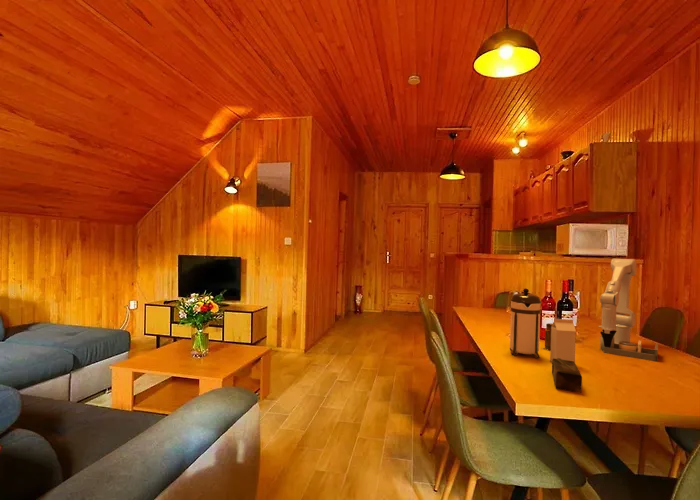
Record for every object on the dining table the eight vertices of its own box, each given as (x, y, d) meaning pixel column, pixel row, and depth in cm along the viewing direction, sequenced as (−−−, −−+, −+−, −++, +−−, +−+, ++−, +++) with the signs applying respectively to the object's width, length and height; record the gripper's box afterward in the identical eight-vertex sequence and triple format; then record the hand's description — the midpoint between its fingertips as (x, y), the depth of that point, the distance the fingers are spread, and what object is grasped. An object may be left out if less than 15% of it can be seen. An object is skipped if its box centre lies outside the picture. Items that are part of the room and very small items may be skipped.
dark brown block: (575, 376, 143) (575, 359, 143) (582, 394, 125) (583, 374, 125) (551, 373, 146) (551, 356, 146) (555, 390, 129) (555, 370, 129)
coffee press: (552, 357, 167) (554, 289, 166) (524, 360, 161) (526, 290, 160) (521, 347, 183) (522, 285, 182) (495, 349, 177) (497, 286, 176)
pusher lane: (606, 347, 187) (607, 337, 187) (657, 355, 174) (657, 344, 174) (603, 352, 177) (604, 341, 177) (657, 361, 164) (657, 350, 164)
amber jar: (619, 350, 181) (619, 340, 181) (636, 353, 177) (637, 343, 176) (617, 353, 176) (618, 343, 176) (636, 356, 171) (636, 345, 171)
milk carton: (574, 368, 152) (576, 321, 152) (555, 366, 154) (557, 320, 153) (568, 362, 159) (569, 318, 159) (550, 361, 160) (551, 317, 160)
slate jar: (601, 347, 185) (601, 333, 185) (615, 349, 181) (615, 335, 181) (599, 350, 181) (599, 335, 181) (613, 352, 177) (613, 337, 177)
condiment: (547, 346, 185) (548, 322, 185) (566, 350, 179) (566, 325, 179) (540, 348, 181) (541, 324, 181) (559, 352, 174) (560, 327, 174)
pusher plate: (638, 352, 178) (638, 339, 178) (641, 352, 177) (641, 340, 177) (637, 356, 170) (637, 344, 170) (640, 357, 169) (640, 344, 169)
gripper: (600, 314, 189) (600, 341, 189) (597, 318, 178) (596, 347, 178) (618, 316, 184) (617, 344, 185) (615, 320, 173) (614, 350, 173)
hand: (608, 346), depth 181 cm, fingers closed on slate jar, 5 cm apart
